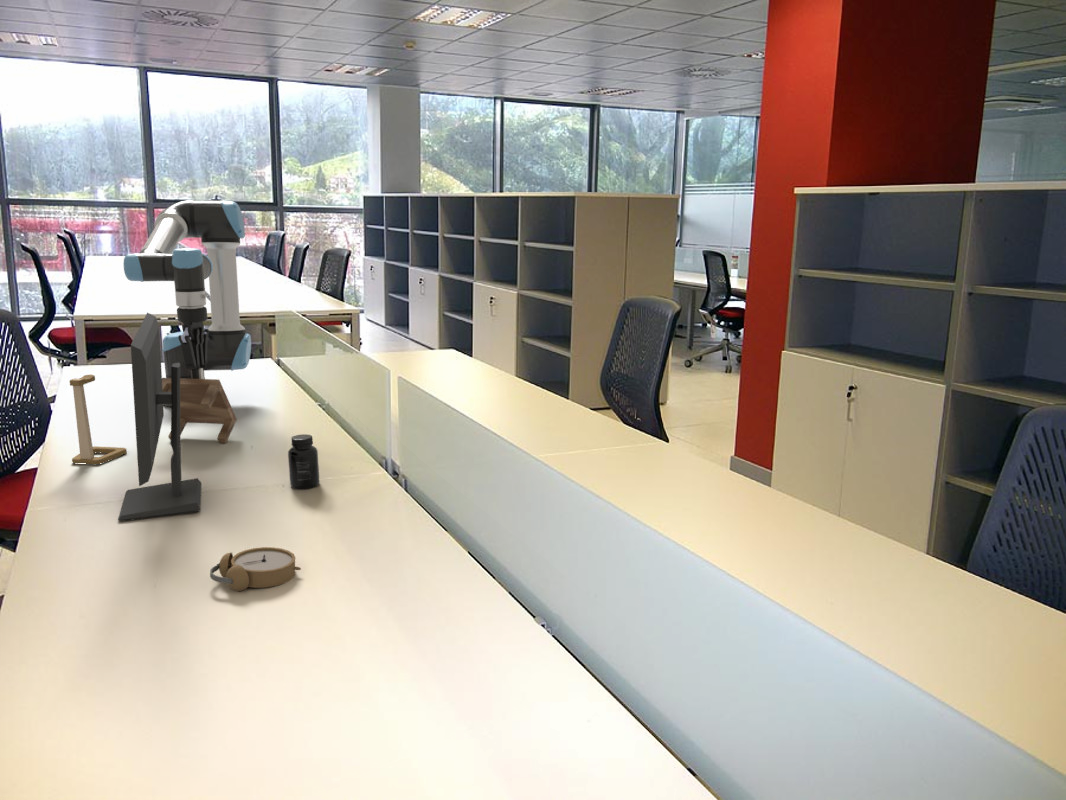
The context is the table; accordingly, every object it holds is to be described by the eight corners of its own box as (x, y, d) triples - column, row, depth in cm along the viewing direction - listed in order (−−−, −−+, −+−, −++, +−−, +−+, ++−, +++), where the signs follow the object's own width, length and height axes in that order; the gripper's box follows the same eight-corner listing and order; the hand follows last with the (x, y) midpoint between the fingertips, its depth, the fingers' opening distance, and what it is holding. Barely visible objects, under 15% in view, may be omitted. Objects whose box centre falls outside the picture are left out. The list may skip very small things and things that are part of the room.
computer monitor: (131, 476, 202) (112, 313, 192) (202, 469, 208) (187, 311, 198) (111, 546, 163) (86, 346, 153) (199, 535, 168) (181, 342, 158)
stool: (182, 417, 236) (162, 377, 224) (236, 419, 235) (219, 379, 223) (170, 441, 230) (149, 401, 218) (226, 443, 229) (207, 403, 217)
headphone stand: (129, 452, 220) (119, 371, 214) (104, 465, 209) (93, 381, 204) (91, 450, 221) (81, 370, 215) (65, 464, 210) (53, 379, 205)
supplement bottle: (325, 482, 200) (322, 434, 197) (309, 491, 194) (306, 442, 191) (301, 478, 202) (298, 431, 199) (284, 487, 196) (280, 439, 193)
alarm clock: (305, 564, 150) (221, 571, 141) (302, 590, 151) (218, 598, 142) (285, 543, 159) (204, 548, 150) (282, 567, 159) (201, 574, 151)
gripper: (193, 310, 216) (201, 397, 222) (215, 303, 229) (222, 386, 235) (165, 309, 217) (174, 396, 223) (189, 303, 230) (197, 386, 235)
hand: (199, 391), depth 229 cm, fingers closed
